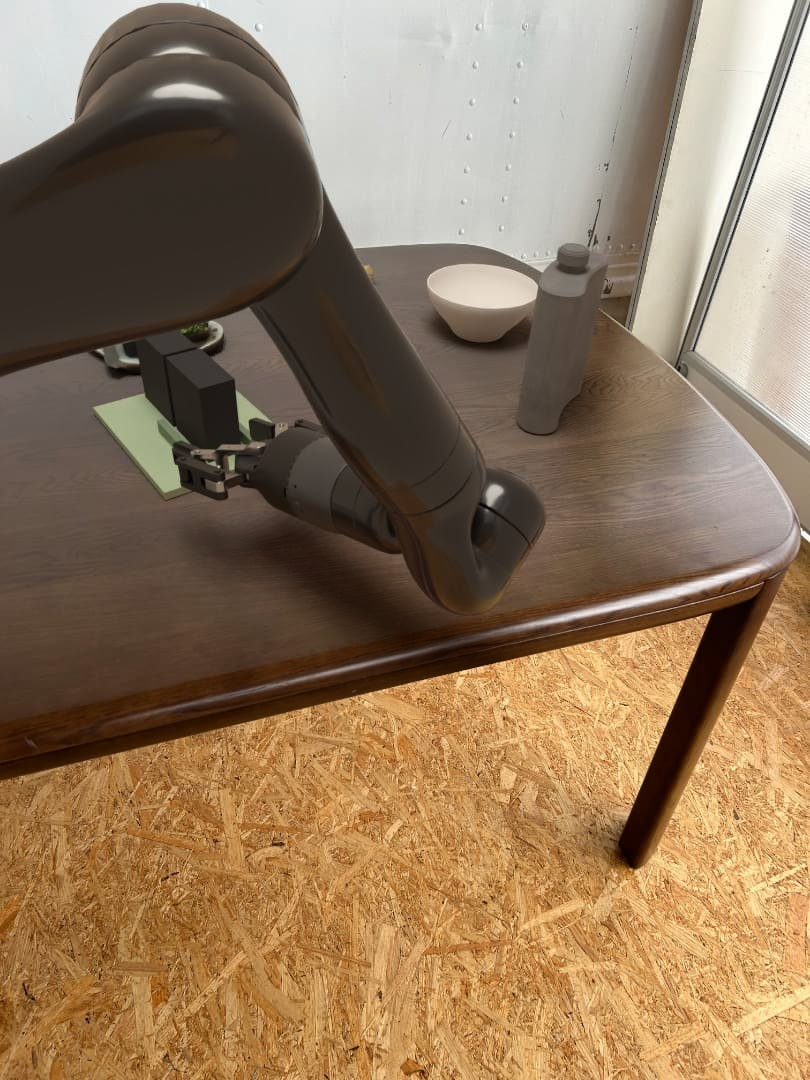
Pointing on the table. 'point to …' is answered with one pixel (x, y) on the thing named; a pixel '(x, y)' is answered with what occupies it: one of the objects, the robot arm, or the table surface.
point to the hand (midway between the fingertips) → (215, 439)
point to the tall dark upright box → (203, 400)
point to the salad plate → (200, 335)
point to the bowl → (481, 299)
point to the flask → (560, 336)
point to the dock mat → (160, 416)
